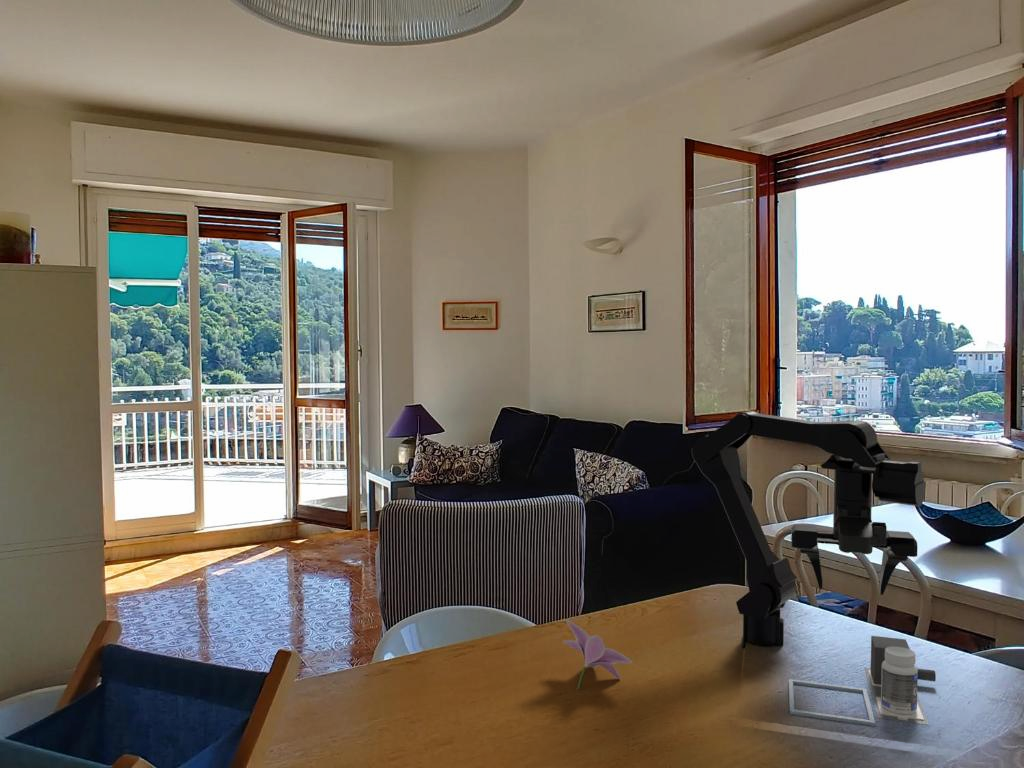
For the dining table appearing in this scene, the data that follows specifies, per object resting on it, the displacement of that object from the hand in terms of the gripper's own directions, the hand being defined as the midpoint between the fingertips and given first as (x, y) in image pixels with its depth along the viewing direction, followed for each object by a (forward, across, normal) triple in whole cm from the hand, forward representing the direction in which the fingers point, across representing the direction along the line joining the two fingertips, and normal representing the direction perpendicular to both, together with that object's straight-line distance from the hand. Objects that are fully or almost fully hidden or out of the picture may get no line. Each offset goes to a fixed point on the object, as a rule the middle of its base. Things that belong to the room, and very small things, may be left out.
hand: (850, 591), depth 129 cm
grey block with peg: (+12, +7, -5) cm, 15 cm away
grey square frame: (+13, -4, -16) cm, 21 cm away
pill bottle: (+12, +5, -15) cm, 20 cm away
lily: (+13, -39, -18) cm, 45 cm away
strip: (+13, +6, -10) cm, 17 cm away
